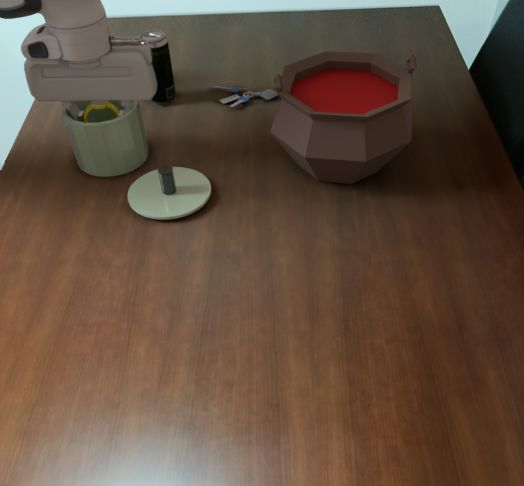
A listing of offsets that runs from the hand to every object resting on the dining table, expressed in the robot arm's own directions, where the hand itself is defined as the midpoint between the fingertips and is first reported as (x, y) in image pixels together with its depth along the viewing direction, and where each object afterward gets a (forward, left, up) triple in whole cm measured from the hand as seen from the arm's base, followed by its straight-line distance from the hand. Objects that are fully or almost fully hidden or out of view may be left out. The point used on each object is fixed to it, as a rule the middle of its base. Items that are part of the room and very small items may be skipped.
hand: (103, 123), depth 99 cm
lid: (+12, -12, -6) cm, 18 cm away
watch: (0, 0, -2) cm, 2 cm away
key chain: (+22, +19, -6) cm, 30 cm away
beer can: (+6, +20, -7) cm, 22 cm away
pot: (0, 0, -6) cm, 6 cm away
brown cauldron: (+40, -2, -7) cm, 41 cm away
